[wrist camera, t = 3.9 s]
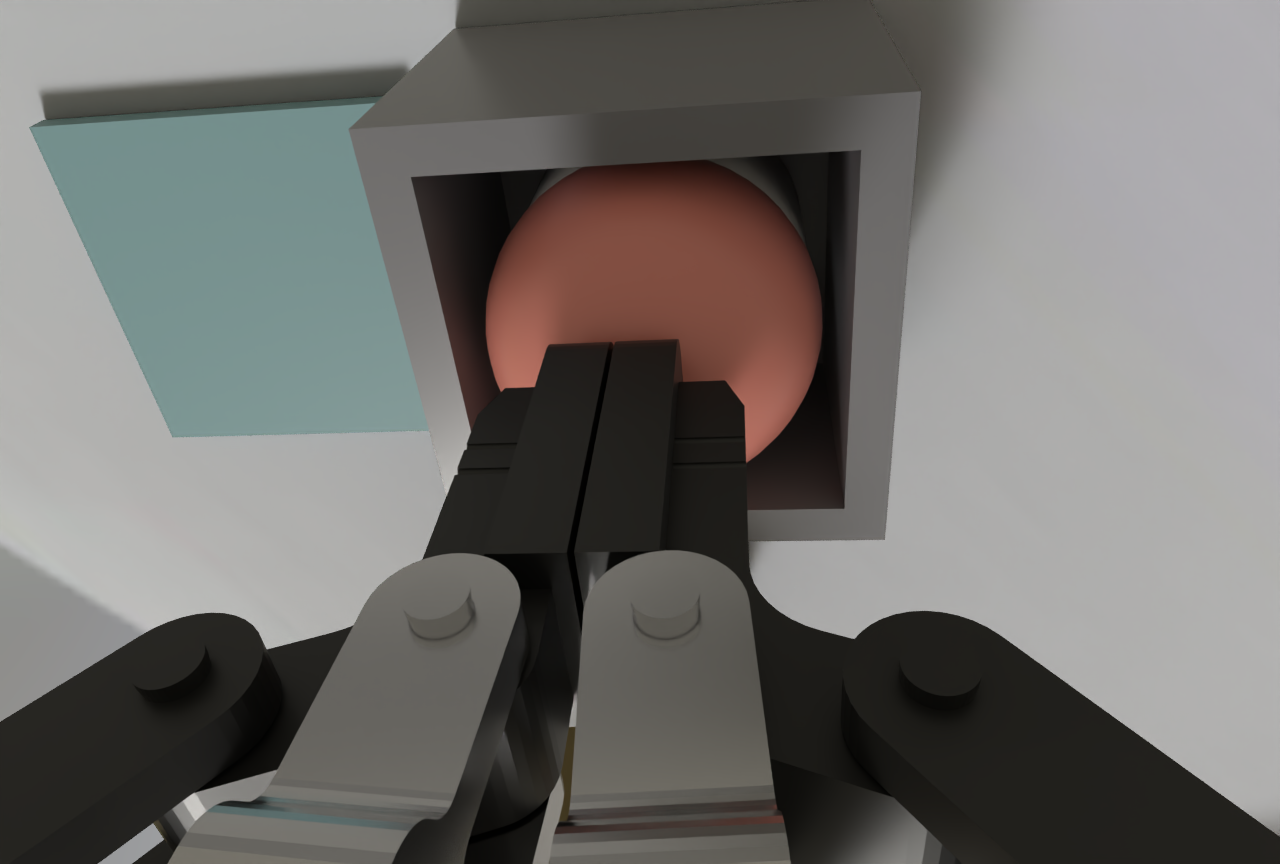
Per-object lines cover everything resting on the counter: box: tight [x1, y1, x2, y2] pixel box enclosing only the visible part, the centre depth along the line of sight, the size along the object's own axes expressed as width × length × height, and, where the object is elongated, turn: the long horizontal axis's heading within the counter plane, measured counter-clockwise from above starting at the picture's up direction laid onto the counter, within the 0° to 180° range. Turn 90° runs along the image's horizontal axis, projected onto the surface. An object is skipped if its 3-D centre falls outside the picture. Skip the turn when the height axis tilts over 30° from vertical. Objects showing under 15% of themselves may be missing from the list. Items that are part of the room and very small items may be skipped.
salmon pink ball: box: [486, 155, 823, 463], centre depth 13 cm, size 5×5×5 cm
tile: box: [29, 96, 429, 437], centre depth 18 cm, size 6×6×1 cm
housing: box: [348, 0, 921, 541], centre depth 14 cm, size 6×6×5 cm
